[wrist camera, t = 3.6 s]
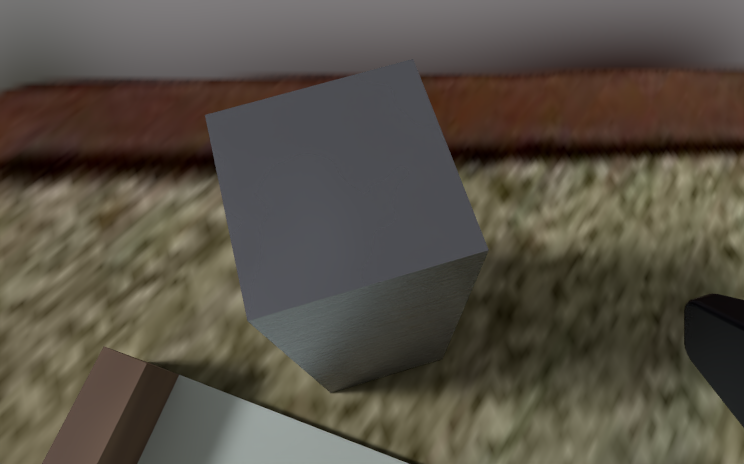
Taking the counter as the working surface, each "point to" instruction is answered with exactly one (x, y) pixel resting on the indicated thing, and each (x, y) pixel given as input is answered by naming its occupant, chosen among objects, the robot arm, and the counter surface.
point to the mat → (242, 434)
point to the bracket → (348, 224)
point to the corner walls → (113, 412)
